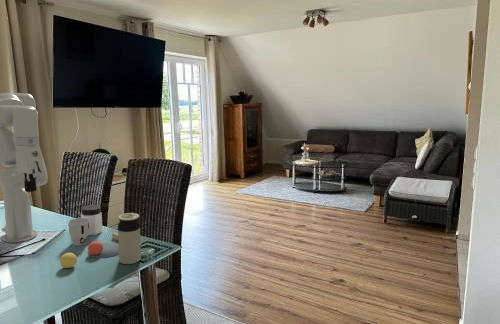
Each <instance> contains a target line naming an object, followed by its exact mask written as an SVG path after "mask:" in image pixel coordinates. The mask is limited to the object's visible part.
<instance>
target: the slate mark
mask: <svg viewBox="0 0 500 324" xmlns="http://www.w3.org/2000/svg"><path fill="white" fill-rule="evenodd" d="M102 245H103V250H102V252H101V253H100V254H98V255H91V254H90V253H89V252H88V251H87V254H88V256H89V257H91V258H96V259H106V258H112V257H113V258H114V257H115V256H119V243H118V242H117V243H116V242H107V243H102Z"/></svg>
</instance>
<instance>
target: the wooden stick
mask: <svg viewBox="0 0 500 324" xmlns="http://www.w3.org/2000/svg"><path fill="white" fill-rule="evenodd" d="M111 235H112V237H111V238H112V240H115V241H117V242H118V231H117V232H113V233H112V234H111ZM140 247H142V241H141V239H140Z"/></svg>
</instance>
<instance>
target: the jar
mask: <svg viewBox="0 0 500 324" xmlns="http://www.w3.org/2000/svg"><path fill="white" fill-rule="evenodd" d="M80 211H81V213H80V218H87V219H89V234H88V236H96V235H98V234H100V233H102V232H103V217H102V216H103V215H102V212H101V211H102V210H101V206H100V205H98V204H88V205H84V206H82V207H81V208H80Z"/></svg>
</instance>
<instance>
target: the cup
mask: <svg viewBox="0 0 500 324" xmlns="http://www.w3.org/2000/svg"><path fill="white" fill-rule="evenodd" d="M67 226H68V233H69V235H70V236H69V237H70V240H71V242H72V244H73V246H79V247H80V246H84V245H86V244H87V241H88V239H89V235H88V234H89V219H87V218H81V217H76V218H72V219H70V220H68V221H67Z"/></svg>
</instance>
